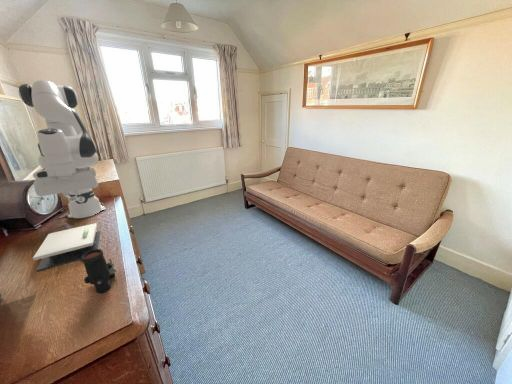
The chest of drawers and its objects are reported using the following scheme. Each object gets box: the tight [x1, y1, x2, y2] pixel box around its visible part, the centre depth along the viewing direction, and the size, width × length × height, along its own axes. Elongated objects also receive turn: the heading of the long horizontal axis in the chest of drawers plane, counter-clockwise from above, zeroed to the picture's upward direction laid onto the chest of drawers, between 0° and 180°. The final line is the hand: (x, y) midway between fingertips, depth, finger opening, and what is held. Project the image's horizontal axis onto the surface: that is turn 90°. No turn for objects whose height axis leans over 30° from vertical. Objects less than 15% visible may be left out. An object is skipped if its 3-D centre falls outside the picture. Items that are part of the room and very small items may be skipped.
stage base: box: [35, 230, 102, 273], centre depth 94 cm, size 23×19×4 cm
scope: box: [81, 248, 117, 294], centre depth 70 cm, size 8×14×10 cm
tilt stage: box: [32, 222, 98, 262], centre depth 93 cm, size 22×18×3 cm
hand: (73, 200), depth 92 cm, fingers closed
